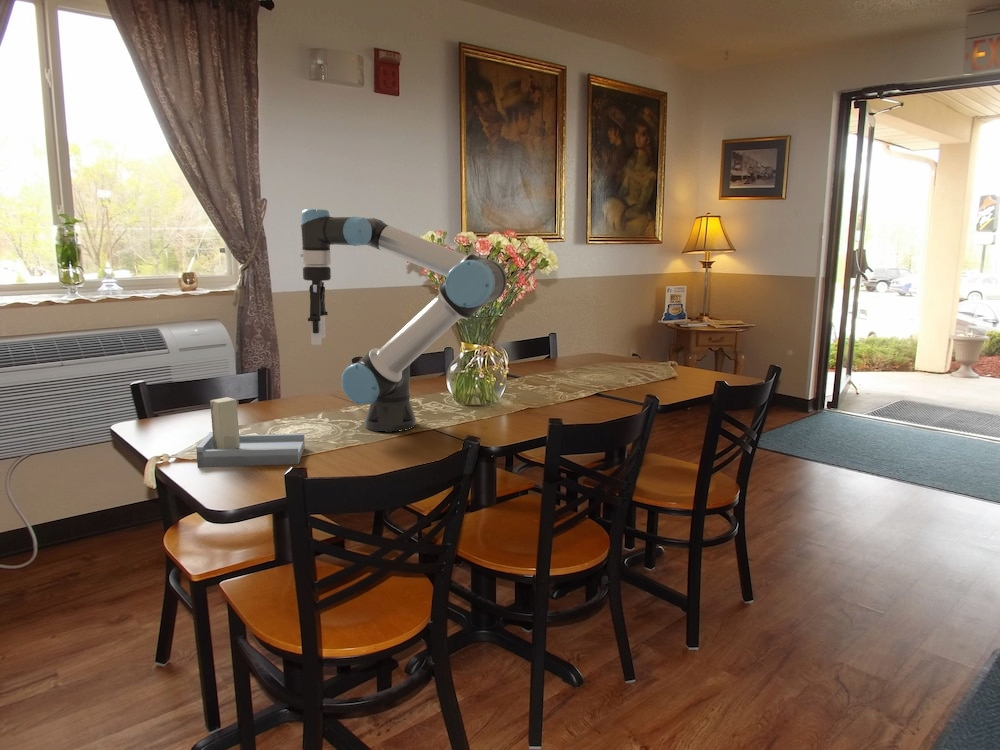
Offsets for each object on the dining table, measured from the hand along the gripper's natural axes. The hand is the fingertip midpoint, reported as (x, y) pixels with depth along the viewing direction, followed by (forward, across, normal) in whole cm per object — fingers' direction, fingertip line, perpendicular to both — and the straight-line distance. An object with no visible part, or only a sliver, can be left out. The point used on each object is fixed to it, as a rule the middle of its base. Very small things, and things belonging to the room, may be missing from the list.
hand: (318, 341), depth 204 cm
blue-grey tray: (+27, +23, -15) cm, 38 cm away
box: (+24, +23, -22) cm, 40 cm away
